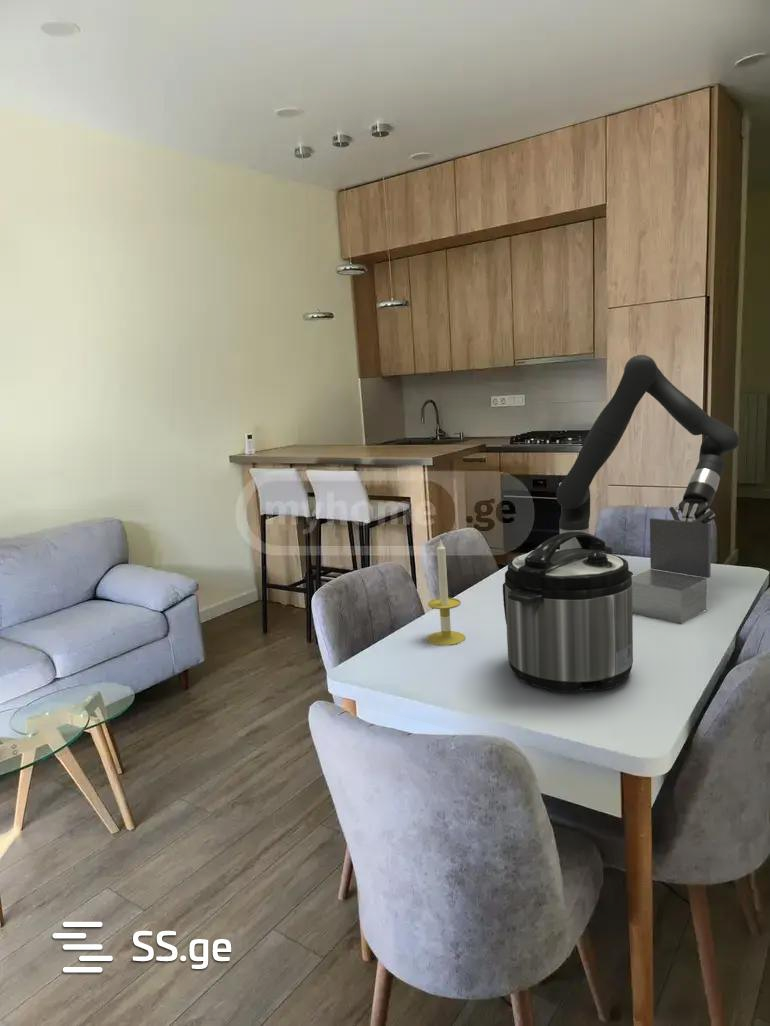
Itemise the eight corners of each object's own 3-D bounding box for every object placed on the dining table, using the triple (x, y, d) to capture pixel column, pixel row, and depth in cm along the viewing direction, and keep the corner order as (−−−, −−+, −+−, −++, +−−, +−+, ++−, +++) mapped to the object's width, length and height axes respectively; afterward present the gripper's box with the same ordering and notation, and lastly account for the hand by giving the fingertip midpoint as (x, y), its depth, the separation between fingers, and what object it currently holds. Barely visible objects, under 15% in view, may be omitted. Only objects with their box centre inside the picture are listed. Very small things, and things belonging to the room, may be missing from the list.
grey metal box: (624, 611, 186) (624, 580, 185) (650, 599, 195) (650, 569, 194) (681, 623, 174) (681, 590, 173) (706, 610, 183) (706, 578, 181)
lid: (649, 518, 191) (655, 516, 193) (650, 568, 194) (655, 566, 196) (708, 524, 179) (713, 522, 181) (708, 577, 181) (713, 575, 183)
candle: (449, 648, 169) (443, 544, 164) (419, 640, 176) (412, 540, 171) (473, 636, 176) (468, 536, 171) (443, 629, 183) (437, 532, 178)
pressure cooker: (606, 641, 166) (604, 515, 161) (664, 690, 139) (664, 540, 133) (487, 654, 164) (481, 527, 158) (522, 706, 136) (516, 554, 131)
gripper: (674, 479, 195) (654, 528, 190) (721, 481, 185) (701, 533, 180) (683, 494, 200) (663, 542, 194) (729, 497, 190) (709, 548, 184)
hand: (681, 538), depth 187 cm, fingers closed
